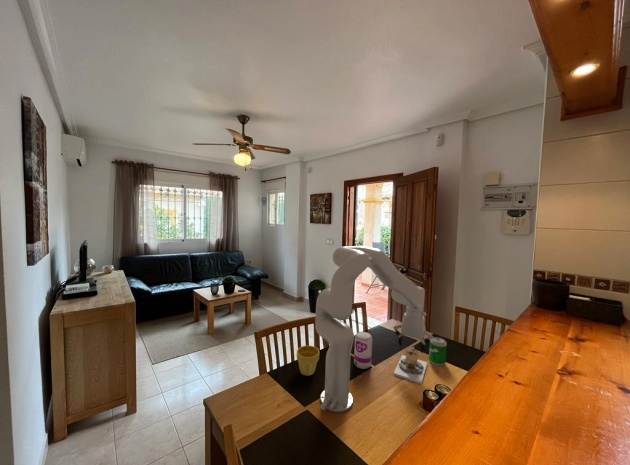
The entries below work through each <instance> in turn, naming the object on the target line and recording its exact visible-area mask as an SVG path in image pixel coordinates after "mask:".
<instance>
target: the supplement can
mask: <svg viewBox="0 0 630 465" xmlns="http://www.w3.org/2000/svg"><path fill="white" fill-rule="evenodd" d="M372 350H373V337H372V335H371V333H369V332H366V331H358V332H357V333H356V334H355V335H354V353H353V354H354V355H353V356H354V357H353V363H354V365H355V367H357V368H359V369H362V370H364V369H365V370H366V369H369V368H370V367H372V353H373V351H372Z"/></svg>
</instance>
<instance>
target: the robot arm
mask: <svg viewBox="0 0 630 465" xmlns="http://www.w3.org/2000/svg"><path fill="white" fill-rule="evenodd" d="M332 261H333V263H334V264H335V266H336V267H338V268H337V269H336V271H334V273H333V275H332V278H331V281H330V288H325V289H322V290H321V291H320V292H319V294H318V295H317V298H316V304H315V324H314V326H315V330H316V333H317V334H318V335H319V336H320V338H322V339H323V340H325V342H327V343H328V345H329V347H328V350H327V351H326V355H325V366H324V367H325V372H324V374H325V375H324V376H325V377H324V390H323V391H322V392H321V394H320V399H319V401H320V403H321V404H320V405H319V406H320V409H321V410H323V411H325V410H328V411H329V412H333V413H343V412H346V411H348V410H350V409H351V408H352V406H353V401H354V399H353V395H352V394H351V393H350V383H351V380H350V378H351V357H352V350H353V349H352V348H353V345H354V342H355V334H354V333H355V332H354V331H353V329H352V328H351V326H350V325H348V324H347V323H346V322H345V321H347V320H348V319H349V318H350V316H351V315H352V310H353V298H354V297H353V294H354V293H353V292H354V285H355V282H356V280H357V279H358V277H359V276H360V275H361V274H362V273H364V272H365V271H366V270H367V268H369V269H370V270H371V271H372V272H373V274H374V275H375V276H376V278H378V280H379V281H380V283H382V285H384V286H386V287H387V288H389V289H390V290H391V292H390V293H391V294H390V295H391V298H392V300H393V301H395V302H396V303H398V304H401V305H404V306H406V307H405V312H404V314H403V317H402V320H401V321H402V323H401V324H396V325H394V326H393V330H394V332H395V333H394V334H396V335H397V337H398V341H397V342H398V344H399V345H398V346H399V347H402V345H403V339H404V337H403V336H405V337H409V338H412V339H415V340H420V342H421V345H420V353H422V354H423V352H425V351H426V345H427V344H428V343H430V340H431V339H432V338H433V337H434V336H433V335H432V334H431V333H429V332H428V331H427V330H426V321H425V320H426V318H425V317H426V316H427V312H426V311H424V307H425V297H426V296H425V295H426V294H425V293H426V290H425V288H424V287H422V286H420V285H419V286H418V285H417V284H415V283H414V282H413V280H411V279H409V278H408V277H407V276H405V274H403V273H402V272H400V271H399V270H398V269H397V268H396V266H395V265H394V264H393V262H392V261H391V260H390V259H389V257H388V255H387V254H386V252H384V251H383V250H381V249H379V248H375V247H370V246H360V245H359V246H340V247H337V248H336V249H335V250H334V252H333V254H332ZM399 329H400V330H399ZM425 336H426V337H427V338H425Z"/></svg>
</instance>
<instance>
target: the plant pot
mask: <svg viewBox="0 0 630 465" xmlns="http://www.w3.org/2000/svg"><path fill="white" fill-rule="evenodd" d="M296 360H297V362H298V366H299V372H300V373H301V375H302V376H311V375H313V374H314V373H315V371H316V367H317V363H318V361H319V360H320V349H319V348H318V347H317V346H314V345H303V346H300V347H298V348H297V350H296Z"/></svg>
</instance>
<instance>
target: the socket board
mask: <svg viewBox="0 0 630 465" xmlns="http://www.w3.org/2000/svg"><path fill="white" fill-rule="evenodd" d="M405 361H406V355H404V354H401V356H400V358H399V361H398V363H397V366H396V367H395V369H394V372H393V376H396V377H398V378H402V379H405V380H408V381H411V382H413V383H417V384H418V385H419V384H420V385H422V384H423V381H424V377H425V373H426V370H427V368H428V367H427V366H428V362H427V361H424V360H421V359H418V358H417V369H410V368H407V367H406V366H405Z"/></svg>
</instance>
